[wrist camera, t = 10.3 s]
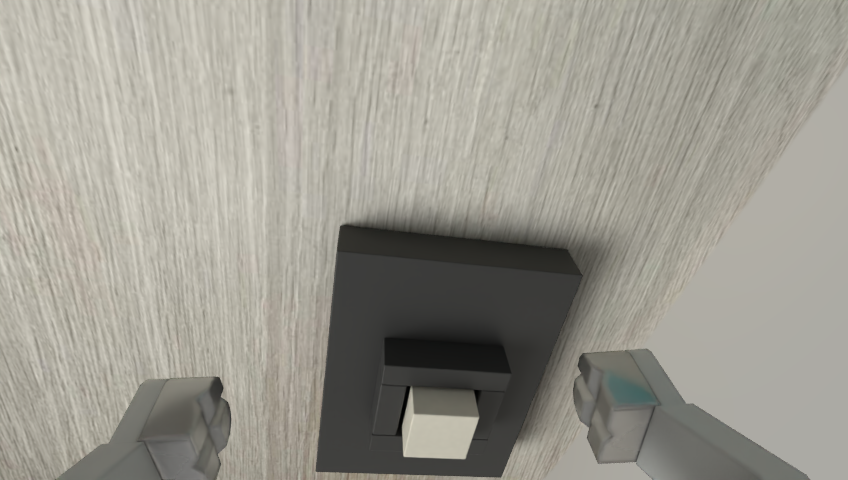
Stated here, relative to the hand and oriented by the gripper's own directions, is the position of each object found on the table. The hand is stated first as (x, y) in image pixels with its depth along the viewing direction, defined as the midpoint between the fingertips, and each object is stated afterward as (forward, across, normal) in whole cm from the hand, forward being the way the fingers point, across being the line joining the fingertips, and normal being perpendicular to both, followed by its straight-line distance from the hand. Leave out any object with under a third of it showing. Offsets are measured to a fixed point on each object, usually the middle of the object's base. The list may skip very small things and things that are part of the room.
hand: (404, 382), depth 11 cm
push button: (+8, -2, +11) cm, 14 cm away
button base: (+12, -2, +11) cm, 16 cm away
